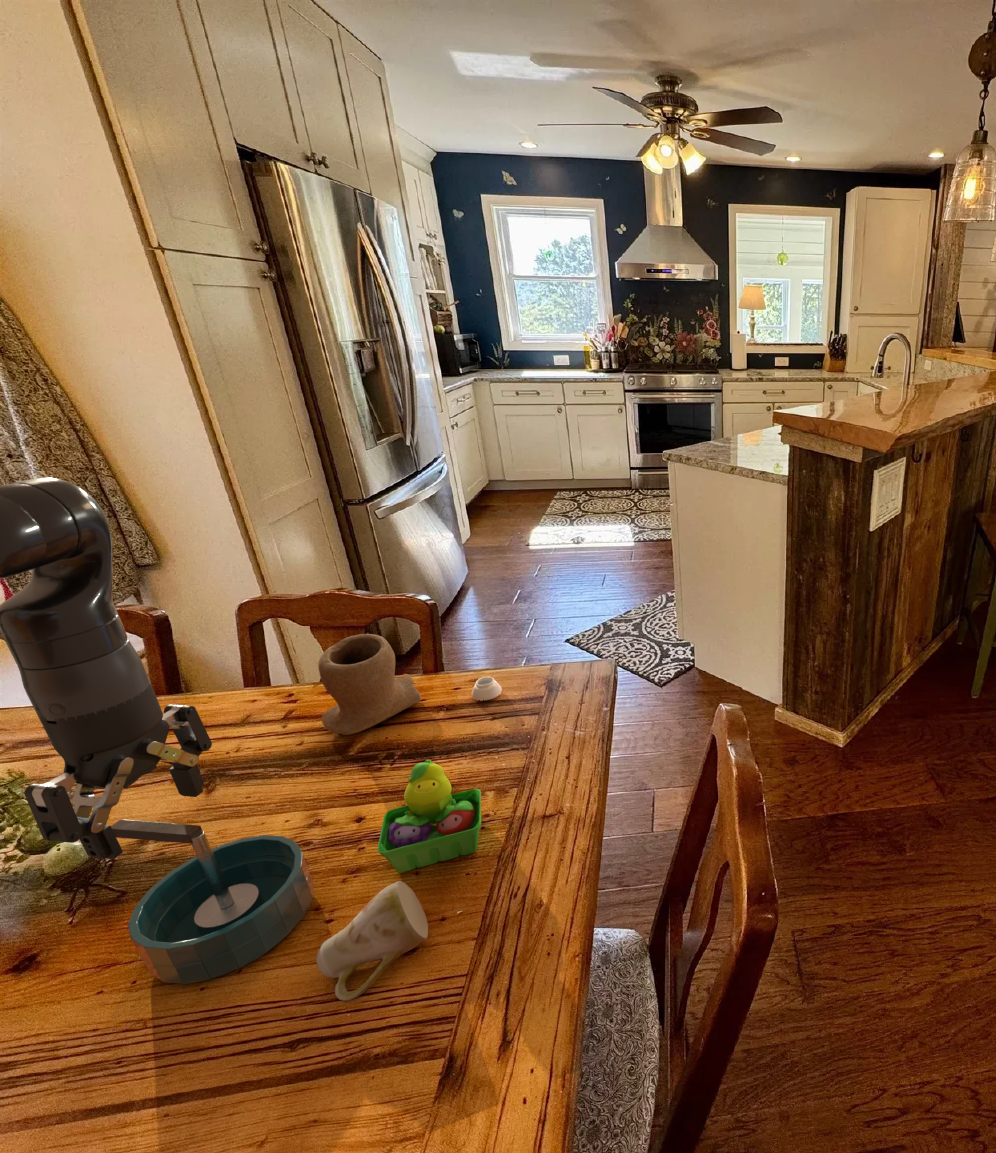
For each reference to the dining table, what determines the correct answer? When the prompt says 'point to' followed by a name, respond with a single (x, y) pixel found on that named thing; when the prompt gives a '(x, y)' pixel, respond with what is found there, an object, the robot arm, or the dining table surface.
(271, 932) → the bowl
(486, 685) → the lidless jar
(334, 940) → the mug
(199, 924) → the rod with disc base
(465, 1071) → the dining table surface
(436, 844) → the fruit basket
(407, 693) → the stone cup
